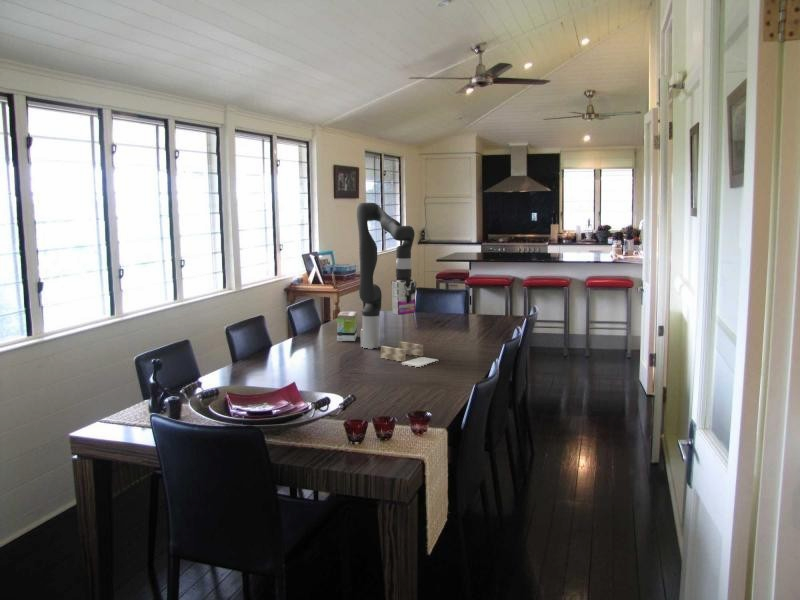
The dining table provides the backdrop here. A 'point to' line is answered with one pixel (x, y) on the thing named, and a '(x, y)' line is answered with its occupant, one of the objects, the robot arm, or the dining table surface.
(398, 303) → the candy bar box
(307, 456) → the dining table surface
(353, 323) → the tea box
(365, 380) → the dining table surface
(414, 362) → the white panel
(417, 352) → the dispenser rack
